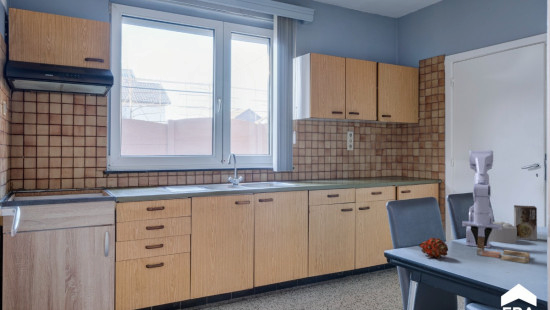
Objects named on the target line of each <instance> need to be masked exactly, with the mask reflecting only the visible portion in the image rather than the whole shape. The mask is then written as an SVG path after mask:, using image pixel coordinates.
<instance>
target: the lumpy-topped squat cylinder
mask: <svg viewBox="0 0 550 310" xmlns="http://www.w3.org/2000/svg"><path fill="white" fill-rule="evenodd" d="M493 224H498V225H501V230H497V229H492V231H491V233H490V239H489V242H493V243H501V244H517V241H518V239H517V227H515V226H514V225H513V224H511V223H509V222H504V221H499V222H498V221H493Z"/></svg>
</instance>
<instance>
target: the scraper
mask: <svg viewBox="0 0 550 310" xmlns="http://www.w3.org/2000/svg"><path fill="white" fill-rule="evenodd" d="M484 240H485V237H482V236H478V243H477V246H476V255H477V256H482V253H483V251H484V250H485V247H484Z"/></svg>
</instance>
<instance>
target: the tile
mask: <svg viewBox="0 0 550 310" xmlns="http://www.w3.org/2000/svg"><path fill="white" fill-rule="evenodd" d="M481 256H482V257H490V258H497V259H498V258H501V251H500V252H499V251H494V250H493V251H492V250H485V249H484V251H483V253H482V255H481Z"/></svg>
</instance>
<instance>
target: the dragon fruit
mask: <svg viewBox="0 0 550 310" xmlns="http://www.w3.org/2000/svg"><path fill="white" fill-rule="evenodd" d="M418 247H419V248H420V249H421V253H423V254H425V255H428V256H429V258H430V257H431V258H434V257H435V258H436V259H441V257H442V256H443V257H446V256H448V251H449V248H448V245H447V243H446V242H445V241H443V240H442V239H441V238H439V237H437V238H435V237H429V239H427V240H425V241H423V242H421V243H419V245H418Z"/></svg>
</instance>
